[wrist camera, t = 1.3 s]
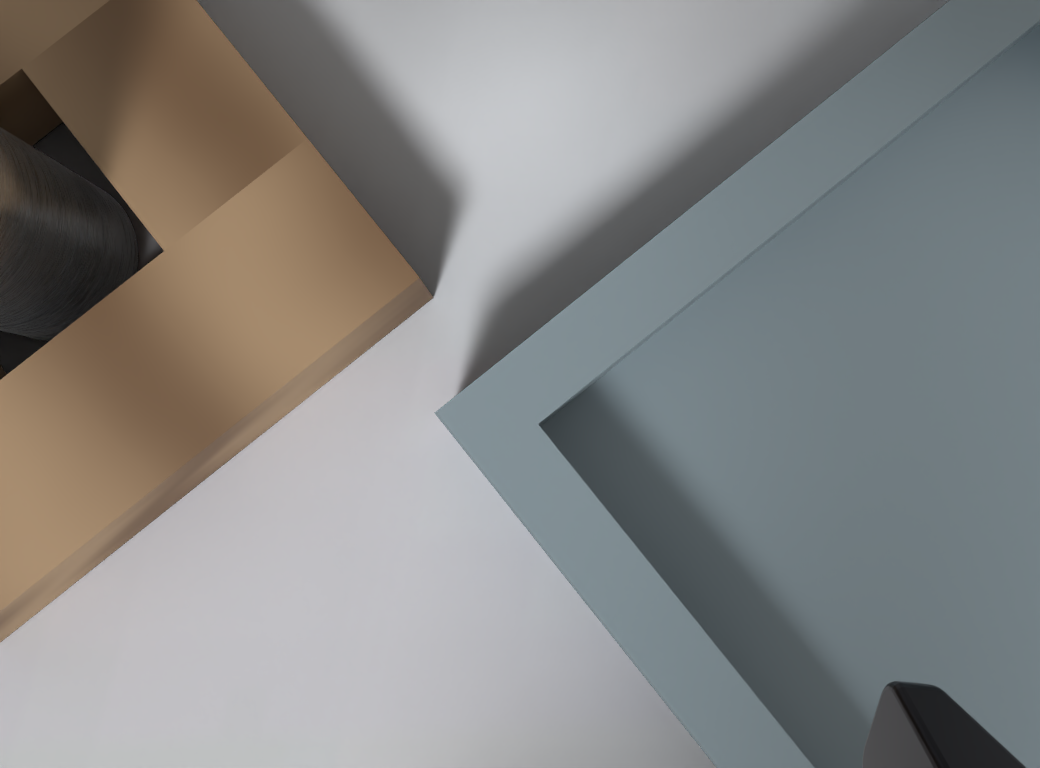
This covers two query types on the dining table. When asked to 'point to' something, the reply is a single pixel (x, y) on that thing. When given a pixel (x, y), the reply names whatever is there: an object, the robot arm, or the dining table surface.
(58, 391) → the socket block
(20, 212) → the steel pin
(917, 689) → the robot arm
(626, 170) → the dining table surface
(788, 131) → the slate tray
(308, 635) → the dining table surface
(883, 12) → the dining table surface
